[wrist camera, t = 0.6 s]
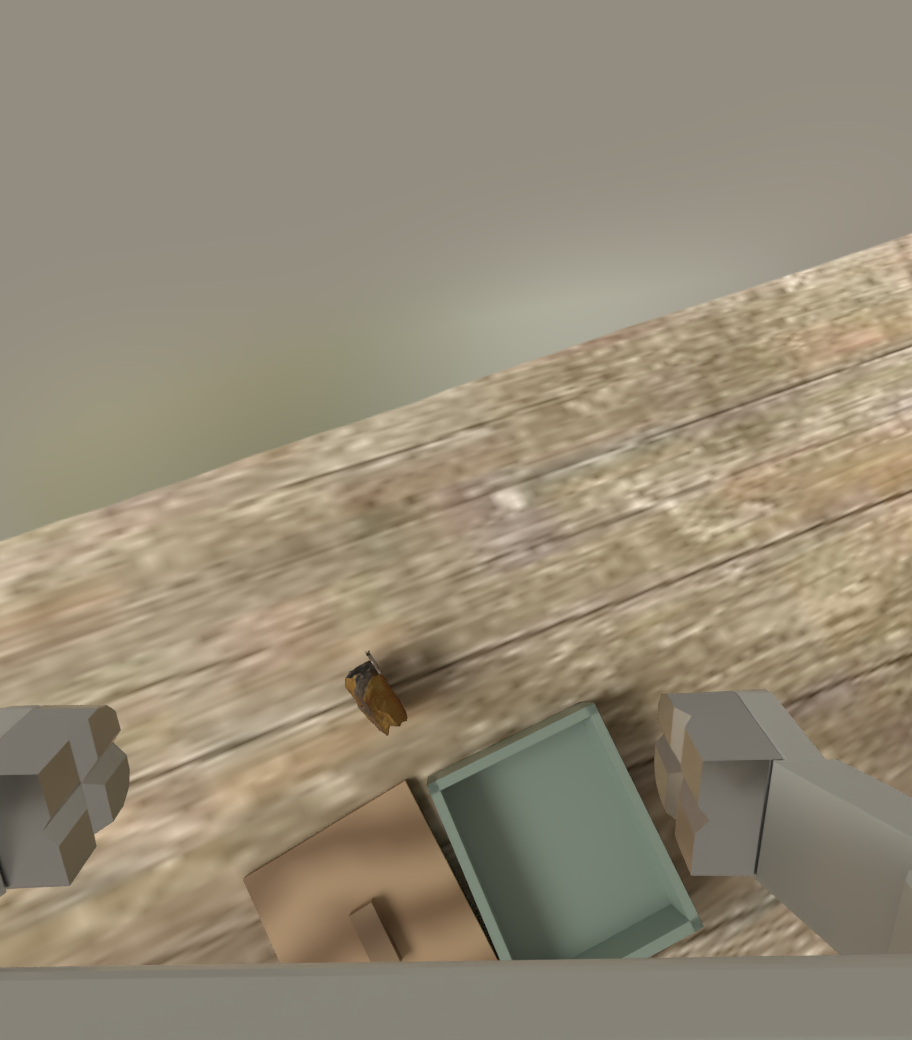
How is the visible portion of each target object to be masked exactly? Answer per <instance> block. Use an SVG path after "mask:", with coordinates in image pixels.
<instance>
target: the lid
mask: <svg viewBox="0 0 912 1040" xmlns="http://www.w3.org/2000/svg"><path fill="white" fill-rule="evenodd" d="M243 881H244V883H245V885H246V887H247V890H248V892H249V894H250V896H251V899H252V901H253V903H254V905H255V908H256V910H257V912H258V914H259V917H260V919H261V921H262V923H263V926H264V928H265V930H266V932H267V934H268V937H269V939H270V941H271V943H272V946H273V948H274V950H275V952H276V955H277V957H278V959H279V961H280V963H337V962H414V961H489V960H499V959H498V957H497V955H496V954H495V952H494V950H493V948H492V946H491V944H490V942H489V940H488V938H487V936H486V934H485V932H484V930H483V928H482V926H481V924H480V923H479V921H478V919H477V917H476V915H475V913H474V911H473V909H472V907H471V905H470V903H469V901H468V899H467V897H466V895H465V893H464V892H463V890H462V888H461V886H460V884H459V882H458V880H457V878H456V876H455V874H454V872H453V870H452V868H451V866H450V864H449V862H448V861H447V859H446V857H445V855H444V853H443V851H442V849H441V847H440V845H439V843H438V841H437V839H436V837H435V835H434V833H433V831H432V830H431V828H430V826H429V824H428V822H427V820H426V818H425V816H424V814H423V812H422V810H421V808H420V806H419V804H418V802H417V801H416V799H415V797H414V795H413V793H412V791H411V789H410V787H409V785H408V783H407V781H406V779H405V780H404V781H402V782H401V783H399V784H397V785H396V786H394V787H392V788H391V789H389V790H387V791H386V792H384V793H382V794H381V795H379V796H377V797H376V798H374V799H372V800H371V801H369V802H367V803H366V804H364V805H362V806H361V807H359V808H357V809H356V810H354V811H353V812H351V813H349V814H348V815H346V816H344V817H343V818H341V819H339V820H338V821H336V822H334V823H333V824H331V825H329V826H328V827H326V828H324V829H323V830H321V831H319V832H318V833H316V834H314V835H313V836H311V837H309V838H308V839H306V840H305V841H303V842H301V843H300V844H298V845H296V846H295V847H293V848H291V849H290V850H288V851H286V852H285V853H283V854H281V855H280V856H278V857H276V858H275V859H273V860H271V861H270V862H268V863H266V864H265V865H263V866H261V867H260V868H258V869H256V870H255V871H253V872H252V873H250V874H248V875H247V876H245V877H244V878H243Z"/></svg>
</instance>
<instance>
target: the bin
mask: <svg viewBox="0 0 912 1040" xmlns="http://www.w3.org/2000/svg"><path fill="white" fill-rule="evenodd" d="M427 787H428V789H429V792H430V794H431V797H432V799H433V801H434V804H435V806H436V808H437V811H438V813H439V816H440V818H441V820H442V823H443V825H444V828H445V830H446V832H447V835H448V837H449V839H450V842H451V844H452V847H453V849H454V851H455V854H456V856H457V859H458V861H459V863H460V866H461V868H462V870H463V873H464V875H465V878H466V880H467V882H468V885H469V887H470V890H471V892H472V894H473V897H474V899H475V902H476V904H477V906H478V909H479V911H480V913H481V916H482V918H483V921H484V923H485V925H486V928H487V930H488V933H489V935H490V937H491V940H492V942H493V944H494V947H495V949H496V952H497V954H498V956H499V959H500V960H556V959H624V958H649V957H650V956H652V955H654V954H656V953H658V952H659V951H661V950H663V949H665V948H667V947H668V946H670V945H672V944H674V943H676V942H677V941H679V940H681V939H683V938H685V937H686V936H688V935H690V934H692V933H693V932H695V931H697V930H699V929H701V928H702V927H704V926H703V924H702V922H701V920H700V918H699V916H698V914H697V912H696V910H695V907H694V905H693V903H692V901H691V899H690V897H689V895H688V893H687V891H686V889H685V887H684V885H683V883H682V881H681V879H680V877H679V875H678V873H677V871H676V869H675V867H674V865H673V863H672V861H671V859H670V857H669V854H668V852H667V850H666V848H665V846H664V844H663V842H662V840H661V838H660V836H659V834H658V832H657V830H656V828H655V826H654V824H653V822H652V820H651V818H650V816H649V814H648V812H647V810H646V808H645V806H644V804H643V802H642V799H641V797H640V795H639V793H638V791H637V789H636V787H635V785H634V783H633V781H632V779H631V777H630V775H629V773H628V771H627V769H626V767H625V765H624V763H623V761H622V759H621V757H620V755H619V753H618V751H617V749H616V746H615V744H614V742H613V740H612V738H611V736H610V734H609V732H608V730H607V728H606V726H605V724H604V722H603V720H602V718H601V716H600V714H599V712H598V710H597V708H596V706H595V704H594V703H589V702H580V703H578V704H575V705H573V706H571V707H569V708H567V709H565V710H563V711H561V712H559V713H557V714H555V715H553V716H551V717H549V718H547V719H545V720H543V721H541V722H539V723H537V724H535V725H533V726H531V727H529V728H527V729H525V730H522V731H520V732H518V733H516V734H514V735H512V736H510V737H508V738H506V739H504V740H502V741H500V742H498V743H496V744H494V745H492V746H490V747H488V748H486V749H484V750H482V751H480V752H478V753H476V754H474V755H472V756H469V757H467V758H465V759H463V760H461V761H459V762H457V763H455V764H453V765H451V766H449V767H447V768H445V769H443V770H441V771H439V772H437V773H435V774H433V775H431V776H429V777H428V779H427Z"/></svg>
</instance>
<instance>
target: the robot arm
mask: <svg viewBox="0 0 912 1040" xmlns="http://www.w3.org/2000/svg"><path fill="white" fill-rule="evenodd" d="M657 720H658V722H659V724H660V726H661V728H662V731H663V733H664V735H663V736H662V737H661V738H660V739H659V740H658V741H657V742H656V744H655V755H654V768H655V778H656V785H657V789H658V793H659V797H660V800H661V803H662V805H663V808H664V811H665V812H666V813H668V814H669V815H670V816H672V817H673V818H674V819H676V825H675V838H676V841H677V843H678V845H679V848H680V850H681V853H682V855H683V858H684V860H685V862H686V865H687V867H688V870H689V872H690V875H693V876H756V880H757V881H758V882H759V883H760V884H762V885H763V886H764V887H765V888H766V889H767V890H768V891H769V892H771V893H772V894H773V895H774V896H775V897H776V898H777V899H778V900H780V901H781V902H782V903H783V904H784V905H785V906H786V907H787V908H788V909H790V910H791V911H792V912H793V913H794V914H795V915H796V916H797V917H799V918H800V919H801V920H802V921H803V922H804V923H805V924H806V925H807V926H809V927H810V928H811V929H812V930H813V931H814V932H815V933H816V934H818V935H819V936H820V937H821V938H822V939H823V940H824V941H825V942H827V943H828V944H829V945H830V946H831V947H832V948H833V949H834V950H835V951H837V952H838V953H839V954H840V955H826V956H758V957H691V958H624V959H556V960H489V961H414V962H337V963H260V964H186V965H124V966H62V967H0V1040H912V797H910V796H908V795H906V794H904V793H902V792H900V791H898V790H896V789H894V788H892V787H890V786H888V785H886V784H884V783H882V782H881V781H879V780H877V779H875V778H873V777H871V776H869V775H867V774H865V773H863V772H861V771H859V770H857V769H855V768H853V767H851V766H849V765H847V764H845V763H843V762H841V761H839V760H837V759H836V760H826V759H825V758H824V757H823V755H822V754H821V753H820V752H819V750H818V749H817V748H816V747H815V745H814V744H813V743H812V742H811V741H810V739H809V738H808V737H807V736H806V734H805V733H804V732H803V731H802V729H801V728H800V727H799V726H798V725H797V723H796V722H795V721H794V720H793V718H792V717H791V716H790V715H789V713H788V712H787V711H786V710H785V708H784V707H783V706H782V705H781V704H780V702H779V701H778V700H777V699H776V697H775V696H774V695H773V694H772V693H771V692H770V691H768V690H766V689H750V690H733V691H722V692H698V693H675V694H661V696H660V700H659V703H658V713H657ZM120 730H121V729H120V725H119V722H118V718H117V715H116V711H115V710H113V709H112V708H110V707H109V706H107V705H43V706H39V705H27V706H9V707H5V708H0V897H1V896H2V895H3V894H4V893H6V889H14V888H35V887H57V886H70V885H71V883H72V882H73V880H74V879H75V877H76V876H77V874H78V873H79V871H80V870H81V869H82V867H83V866H84V864H85V863H86V861H87V860H88V858H89V857H90V855H91V854H92V852H93V851H94V849H95V848H96V841H95V836H94V834H95V833H97V832H98V831H100V830H101V829H103V828H104V827H106V826H107V825H109V824H110V823H112V822H113V821H114V820H115V818H116V817H117V815H118V813H119V812H120V810H121V809H122V807H123V805H124V802H125V799H126V795H127V792H128V788H129V774H130V769H129V764H128V760H127V755H126V754H125V753H124V752H123V751H122V750H121V749H120V748H119V747H118V746H116V745H115V744H114V743H113V742H114V741H115V739H116V737H117V736H118V734H119V732H120Z"/></svg>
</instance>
